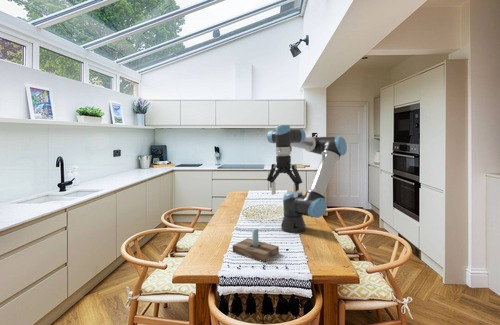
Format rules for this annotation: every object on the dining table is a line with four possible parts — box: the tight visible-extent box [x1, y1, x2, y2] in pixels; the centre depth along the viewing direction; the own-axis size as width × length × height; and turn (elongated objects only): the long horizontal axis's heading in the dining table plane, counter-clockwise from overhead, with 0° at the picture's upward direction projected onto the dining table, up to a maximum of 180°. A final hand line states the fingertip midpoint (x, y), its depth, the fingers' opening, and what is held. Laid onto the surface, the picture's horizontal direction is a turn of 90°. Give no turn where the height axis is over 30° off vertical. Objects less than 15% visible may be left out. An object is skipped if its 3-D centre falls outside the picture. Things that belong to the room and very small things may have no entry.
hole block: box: [232, 237, 280, 263], centre depth 139 cm, size 12×20×4 cm, turn 50°
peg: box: [251, 228, 260, 248], centre depth 139 cm, size 3×3×12 cm
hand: (284, 195), depth 145 cm, fingers open, 13 cm apart
